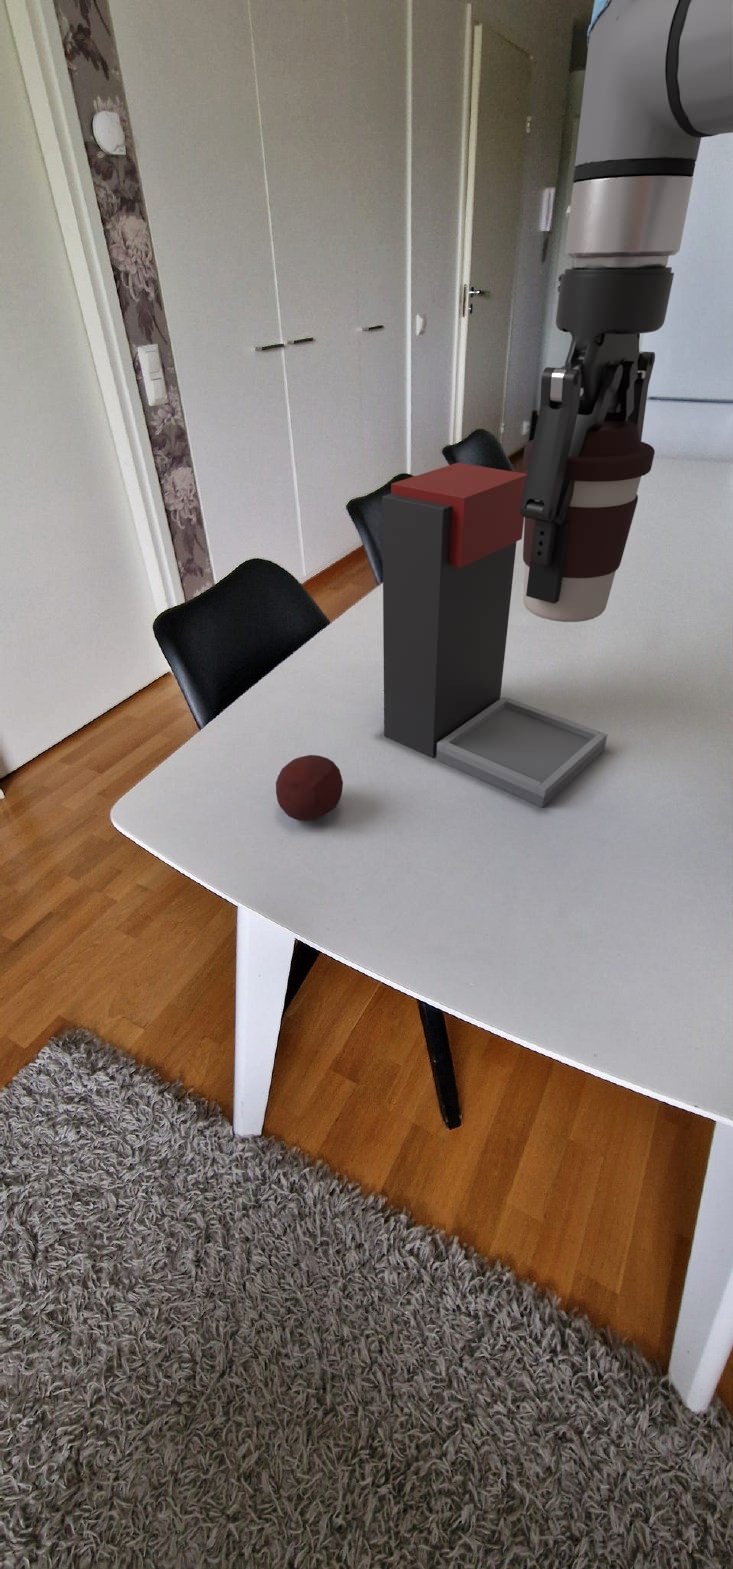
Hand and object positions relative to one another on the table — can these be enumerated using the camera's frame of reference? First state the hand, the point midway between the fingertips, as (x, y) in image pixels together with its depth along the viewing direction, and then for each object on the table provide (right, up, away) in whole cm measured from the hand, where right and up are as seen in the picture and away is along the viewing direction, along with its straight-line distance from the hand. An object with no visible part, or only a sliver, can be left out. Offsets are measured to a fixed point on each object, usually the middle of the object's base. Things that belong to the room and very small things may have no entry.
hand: (567, 582), depth 62 cm
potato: (-24, -21, +17) cm, 37 cm away
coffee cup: (0, -2, +1) cm, 2 cm away
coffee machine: (-2, -13, +28) cm, 31 cm away
